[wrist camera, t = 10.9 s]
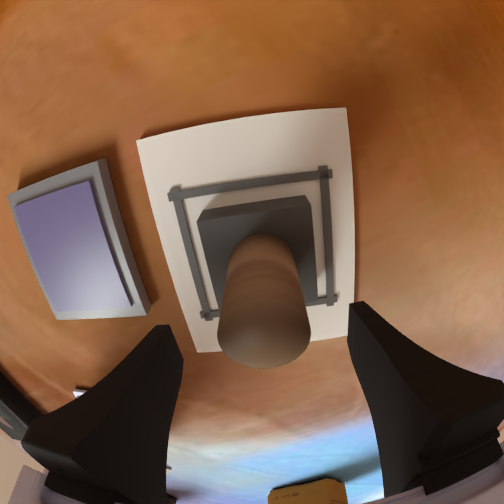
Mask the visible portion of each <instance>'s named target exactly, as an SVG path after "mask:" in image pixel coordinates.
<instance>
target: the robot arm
mask: <svg viewBox="0 0 504 504" xmlns="http://www.w3.org/2000/svg"><path fill="white" fill-rule="evenodd" d="M347 343H348V347H349V352H350V356H351V359H352V363H353V366H354V368H355V371H356V374H357V376H358V379H359V382H360V384H361V387H362V389H363V392H364V395H365V397H366V400H367V403H368V406H369V409H370V412H371V416H372V420H373V424H374V429H375V433H376V439H377V444H378V449H379V455H380V462H381V469H382V477H383V486H384V498H383V499H379V500H375V501H372V502H368V503H364V504H504V441H503V442H502V443H501V444H499V442H498V440H497V438H498V437H499V436H500V433H499V431H498V429H497V427H498V426H499V424H500V423H501V422H502V421H503V419H504V383H503V382H502V380H498V379H494V378H490V377H486V376H482V375H479V374H476V373H473V372H470V371H468V370H465V369H462V368H460V367H458V366H455V365H453V364H451V363H449V362H447V361H445V360H443V359H441V358H439V357H437V356H435V355H433V354H432V353H430V352H428V351H427V350H425V349H423V348H422V347H420V346H419V345H417V344H416V343H414V342H413V341H411V340H410V339H409V338H407V337H406V336H404V335H403V334H402V333H400V332H399V331H398V330H397V329H395V328H394V327H393V326H392V325H391V324H389V323H388V322H387V321H386V320H385V319H384V318H382V317H381V316H380V315H379V314H378V313H377V312H376V311H374V310H373V309H372V308H371V307H370V306H369V305H368V304H366V303H365V302H364V301H361V302H355V303H349V315H348V335H347ZM182 371H183V357H182V355H181V352H180V350H179V347H178V345H177V343H176V340H175V338H174V335H173V333H172V330H171V327H170V325H156V326H155V327H154V328H153V329H152V330H151V331H150V332H149V333H148V334H147V335H146V336H145V337H144V338H143V340H142V341H141V342H140V343H139V344H138V345H137V346H136V347H135V348H134V349H133V350H132V351H131V352H130V353H129V354H128V356H127V357H126V358H125V359H124V360H123V361H122V362H120V363H119V364H118V365H117V366H116V367H115V368H114V369H113V370H112V371H111V372H110V373H109V374H108V375H107V376H106V377H104V378H103V379H102V380H101V381H100V382H98V383H97V384H96V385H95V386H93V387H92V388H91V389H89V390H88V391H87V390H79V389H74V391H73V393H74V395H75V396H76V397H77V398H76V399H75V400H73V401H71V402H69V403H68V404H66V405H64V406H62V407H60V408H59V409H57V410H55V411H53V412H50V413H48V414H46V415H43V416H41V417H39V418H36V419H33V420H32V421H31V423H30V425H29V427H28V429H27V431H26V433H25V435H24V437H23V439H22V441H21V444H22V447H23V448H24V450H25V451H26V452H27V453H28V454H29V455H30V456H31V457H33V458H34V459H35V460H36V461H37V462H38V463H40V464H41V465H42V466H43V467H45V469H44V471H43V473H41V472H39V471H36V470H34V469H32V468H30V467H27V466H25V465H23V467H22V469H21V472H20V474H19V476H18V479H17V481H16V484H15V487H14V489H13V492H12V495H11V497H10V500H9V503H8V504H167V501H166V463H167V449H168V439H169V431H170V425H171V421H172V417H173V413H174V409H175V404H176V401H177V397H178V392H179V388H180V384H181V379H182Z"/></svg>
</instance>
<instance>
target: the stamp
mask: <svg viewBox="0 0 504 504" xmlns="http://www.w3.org/2000/svg"><path fill="white" fill-rule="evenodd" d="M197 226H198V231H199V235H200V239H201V243H202V247H203V251H204V255H205V259H206V263H207V267H208V271H209V275H210V278H211V282H212V286H213V290H214V294H215V297H216V301H217V305H218V308H219V312H220V317H219V324H218V330H217V339H218V343H219V346H220V348H221V349H222V351H223V352H224V353H225V354H226V355H227V356H228V357H229V358H230V359H232V360H233V361H235V362H237V363H239V364H241V365H243V366H247V367H251V368H258V369H268V368H275V367H279V366H283V365H285V364H288V363H290V362H292V361H293V360H295V359H296V358H298V357H299V356H300V355H301V354H302V353H303V352H304V351H305V349H306V348H307V346H308V344H309V342H310V338H311V328H310V323H309V319H308V314H307V310H306V306H305V303H308V302H315V301H318V288H317V271H316V256H315V243H314V231H313V219H312V209H311V204H310V202H309V200H308V199H307V197H306V195H300V196H292V197H285V198H278V199H270V200H264V201H257V202H250V203H243V204H237V205H231V206H224V207H218V208H212V209H206V210H202V212H201V214H200V216H199V218H198V220H197Z"/></svg>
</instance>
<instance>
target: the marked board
mask: <svg viewBox="0 0 504 504" xmlns="http://www.w3.org/2000/svg"><path fill="white" fill-rule="evenodd" d="M136 142H137V147H138V151H139V156H140V161H141V165H142V170H143V174H144V178H145V182H146V187H147V191H148V195H149V199H150V203H151V207H152V211H153V214H154V218H155V222H156V226H157V229H158V233H159V236H160V240H161V244H162V247H163V250H164V254H165V257H166V261H167V264H168V267H169V271H170V274H171V277H172V280H173V283H174V286H175V290H176V293H177V296H178V299H179V302H180V305H181V308H182V311H183V314H184V317H185V320H186V322H187V325H188V328H189V331H190V334H191V337H192V339H193V342H194V345H195V347H196V350H197V353H203V352H218V351H222V349H221V348H220V346H219V343H218V339H217V330H218V324H219V317H220V312H219V308H218V305H217V301H216V297H215V294H214V290H213V286H212V282H211V278H210V275H209V271H208V267H207V263H206V259H205V255H204V251H203V247H202V243H201V239H200V235H199V231H198V226H197V220H198V218H199V216H200V214H201V212H202V210H206V209H212V208H218V207H224V206H231V205H237V204H243V203H250V202H257V201H264V200H270V199H278V198H285V197H292V196H300V195H306V197H307V199H308V200H309V202H310V204H311V209H312V219H313V231H314V243H315V256H316V271H317V288H318V301H315V302H308V303H305V306H306V310H307V314H308V319H309V323H310V328H311V338H310V341H317V340H323V339H329V338H336V337H341V336H347V335H348V315H349V303H354V278H355V224H354V195H353V177H352V162H351V150H350V139H349V129H348V120H347V111H346V108H327V109H312V110H300V111H290V112H281V113H272V114H264V115H257V116H250V117H243V118H237V119H231V120H225V121H219V122H214V123H209V124H204V125H199V126H194V127H189V128H185V129H180V130H176V131H171V132H167V133H163V134H159V135H155V136H151V137H147V138H144V139H140V140H136Z"/></svg>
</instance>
